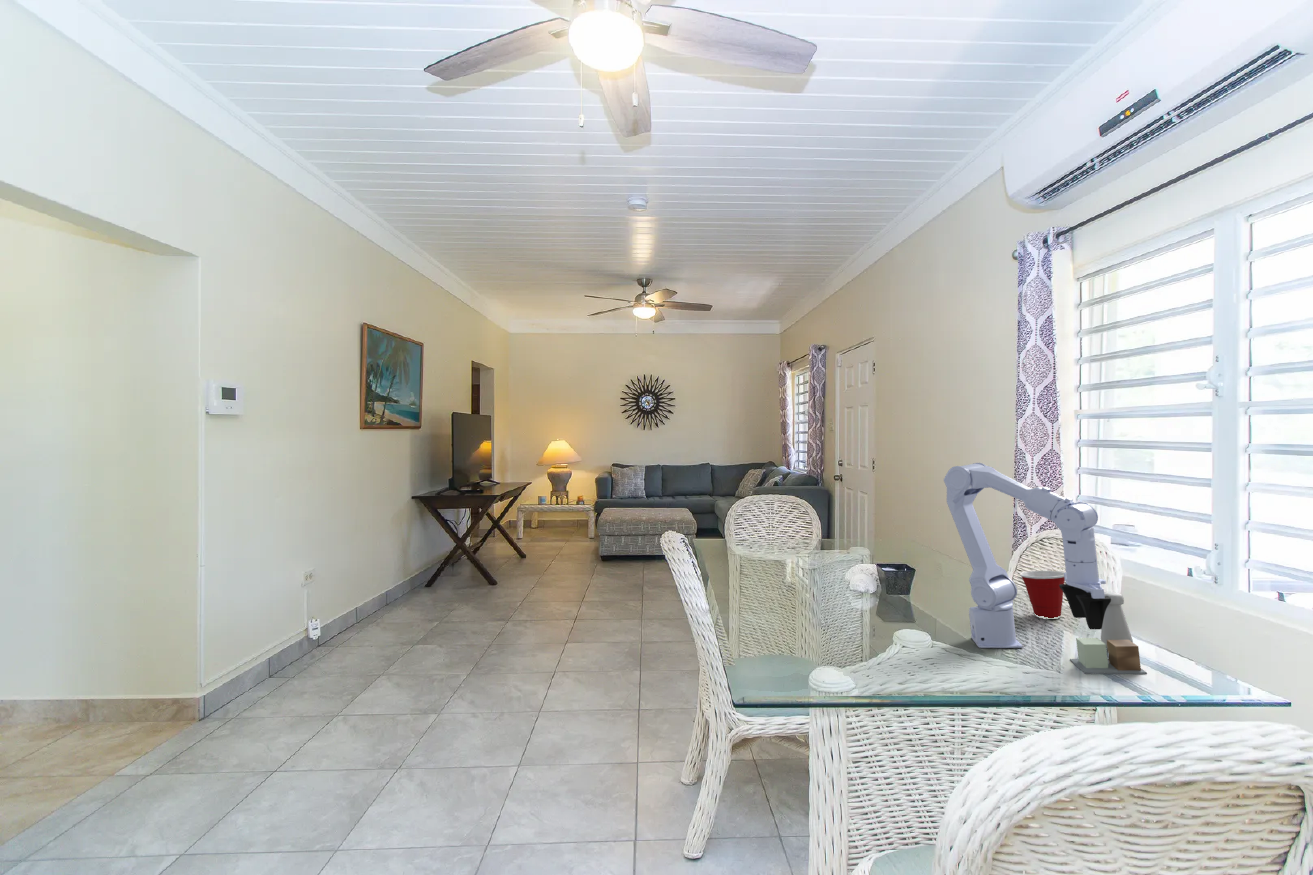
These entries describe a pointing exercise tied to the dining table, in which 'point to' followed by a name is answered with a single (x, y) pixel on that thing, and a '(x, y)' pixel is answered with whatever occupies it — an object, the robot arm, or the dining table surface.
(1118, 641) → the walnut block
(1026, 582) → the plastic cup
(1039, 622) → the dining table surface
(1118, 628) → the salt shaker
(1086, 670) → the slate mat
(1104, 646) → the sage block
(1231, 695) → the dining table surface
